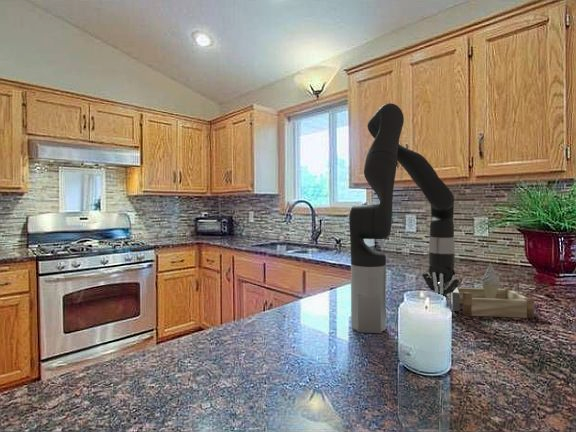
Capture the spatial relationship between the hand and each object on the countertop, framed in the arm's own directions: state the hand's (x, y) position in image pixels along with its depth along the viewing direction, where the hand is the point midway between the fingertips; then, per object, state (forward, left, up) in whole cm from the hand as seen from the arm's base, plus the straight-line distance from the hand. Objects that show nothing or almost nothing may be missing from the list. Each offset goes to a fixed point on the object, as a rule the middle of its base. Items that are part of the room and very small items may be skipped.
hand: (441, 305), depth 114 cm
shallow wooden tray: (+2, -15, -1) cm, 15 cm away
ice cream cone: (+2, -15, -1) cm, 15 cm away
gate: (+2, -5, -1) cm, 5 cm away
